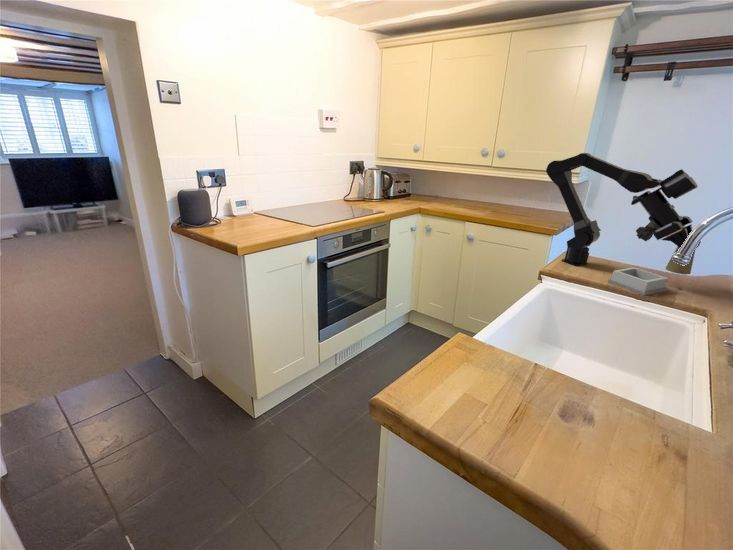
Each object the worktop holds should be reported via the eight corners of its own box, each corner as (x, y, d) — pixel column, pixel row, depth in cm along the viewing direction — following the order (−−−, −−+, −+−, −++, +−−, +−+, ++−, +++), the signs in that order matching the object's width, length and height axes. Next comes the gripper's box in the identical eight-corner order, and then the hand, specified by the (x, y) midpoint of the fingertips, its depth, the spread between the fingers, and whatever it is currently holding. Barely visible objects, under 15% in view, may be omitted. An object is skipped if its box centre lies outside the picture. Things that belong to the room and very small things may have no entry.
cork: (695, 274, 106) (710, 239, 102) (675, 274, 106) (689, 238, 102) (679, 267, 112) (692, 233, 108) (660, 267, 112) (672, 233, 108)
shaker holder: (607, 282, 113) (611, 270, 112) (630, 277, 117) (633, 266, 116) (644, 295, 104) (648, 282, 102) (666, 290, 108) (671, 278, 106)
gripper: (638, 219, 121) (667, 258, 117) (622, 226, 109) (654, 270, 106) (676, 199, 113) (708, 241, 109) (662, 204, 101) (698, 251, 97)
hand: (691, 251), depth 105 cm, fingers closed on cork, 5 cm apart
